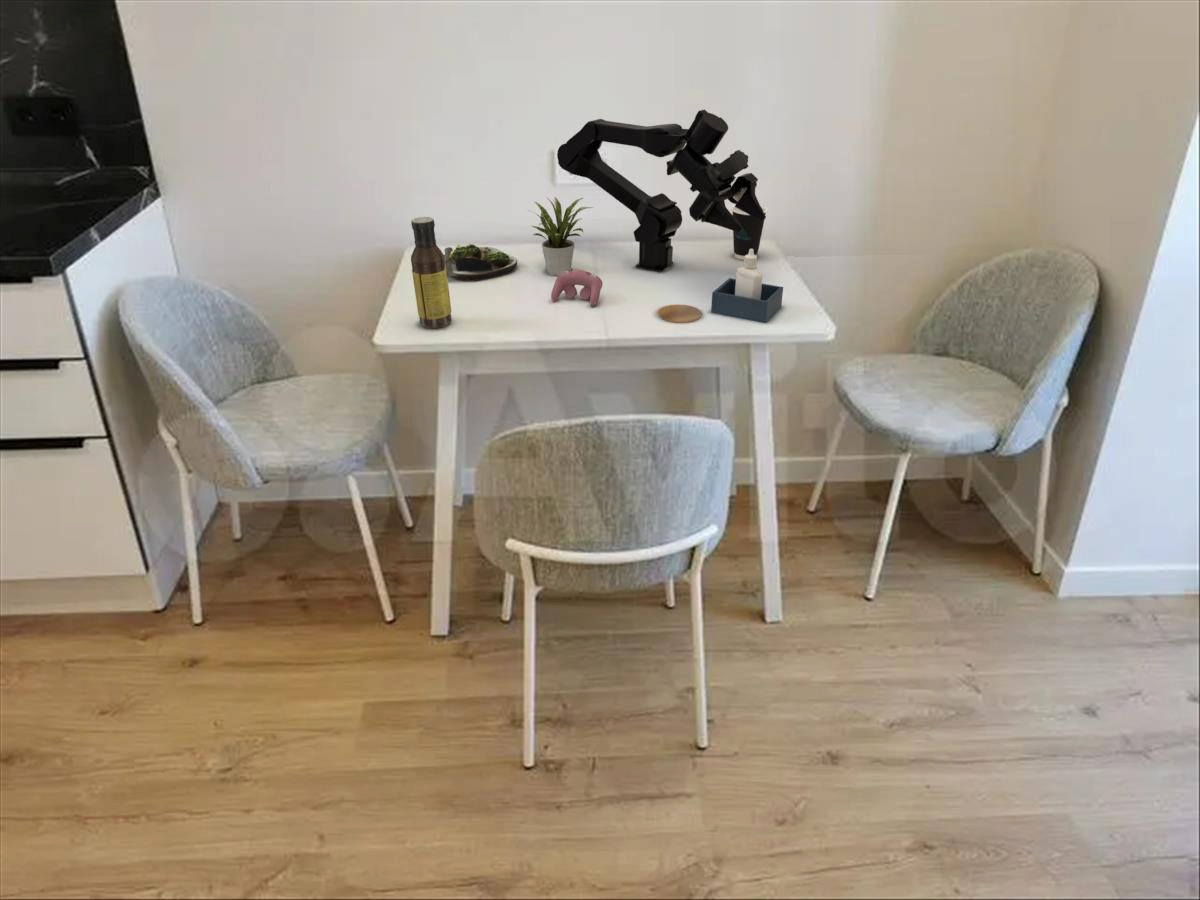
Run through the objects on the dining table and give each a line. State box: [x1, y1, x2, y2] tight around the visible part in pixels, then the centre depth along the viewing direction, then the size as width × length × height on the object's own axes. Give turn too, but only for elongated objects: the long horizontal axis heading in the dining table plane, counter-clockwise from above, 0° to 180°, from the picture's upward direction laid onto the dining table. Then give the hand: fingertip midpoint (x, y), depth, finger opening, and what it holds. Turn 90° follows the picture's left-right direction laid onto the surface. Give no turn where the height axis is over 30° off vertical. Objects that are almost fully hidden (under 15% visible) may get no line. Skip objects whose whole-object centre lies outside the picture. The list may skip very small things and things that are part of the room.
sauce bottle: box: [410, 216, 452, 329], centre depth 163 cm, size 6×6×20 cm
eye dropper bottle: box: [735, 249, 763, 300], centre depth 170 cm, size 4×6×12 cm
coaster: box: [657, 304, 702, 324], centre depth 171 cm, size 8×8×1 cm
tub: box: [710, 277, 784, 323], centre depth 172 cm, size 11×9×4 cm
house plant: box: [527, 196, 595, 276], centre depth 189 cm, size 14×14×16 cm
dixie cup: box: [731, 204, 768, 261], centre depth 198 cm, size 8×8×11 cm
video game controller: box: [550, 269, 603, 307], centre depth 177 cm, size 10×5×7 cm, turn 71°
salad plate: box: [443, 243, 518, 282], centre depth 195 cm, size 19×18×5 cm
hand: (753, 224), depth 176 cm, fingers open, 9 cm apart
